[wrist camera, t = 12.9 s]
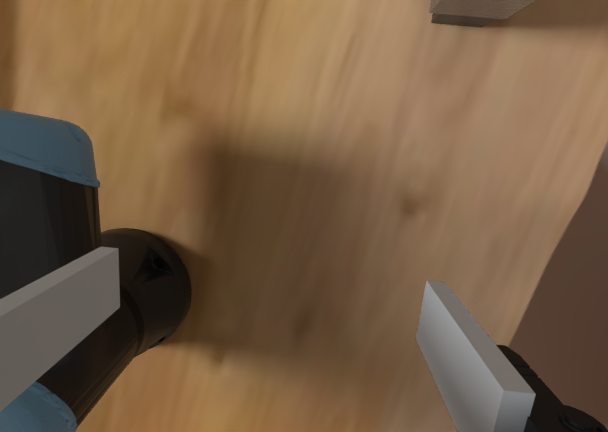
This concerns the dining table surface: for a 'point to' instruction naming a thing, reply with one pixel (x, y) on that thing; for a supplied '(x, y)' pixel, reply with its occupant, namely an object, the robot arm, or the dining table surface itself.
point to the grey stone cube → (479, 7)
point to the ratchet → (460, 20)
